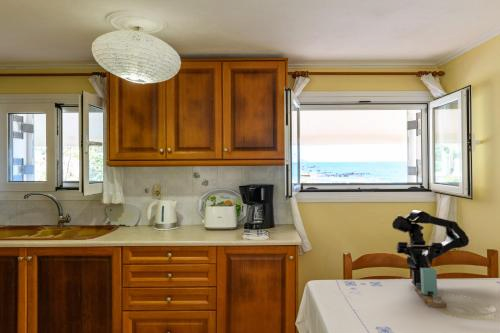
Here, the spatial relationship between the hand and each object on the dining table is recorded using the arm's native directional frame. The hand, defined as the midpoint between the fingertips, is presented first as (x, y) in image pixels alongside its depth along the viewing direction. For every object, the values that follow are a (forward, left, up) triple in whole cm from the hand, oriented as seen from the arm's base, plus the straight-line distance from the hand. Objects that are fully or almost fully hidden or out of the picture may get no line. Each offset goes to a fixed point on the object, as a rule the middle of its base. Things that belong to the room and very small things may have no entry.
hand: (423, 264), depth 145 cm
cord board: (0, -7, -13) cm, 14 cm away
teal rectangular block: (0, -6, -11) cm, 12 cm away
